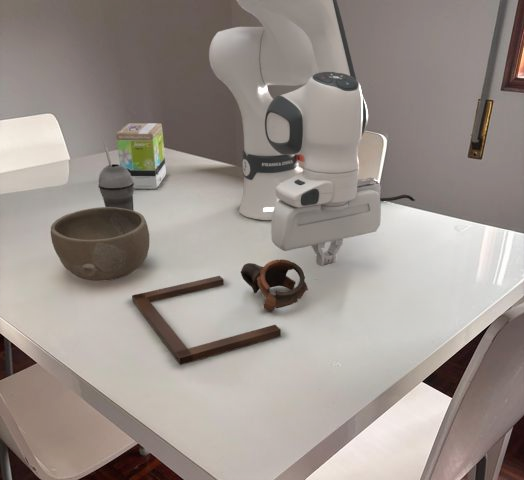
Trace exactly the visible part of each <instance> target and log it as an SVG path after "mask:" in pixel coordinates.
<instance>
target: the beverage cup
mask: <svg viewBox="0 0 524 480" xmlns="http://www.w3.org/2000/svg"><path fill="white" fill-rule="evenodd" d="M102 143H103V146H104V150H105V151H104V152H105V154H106V158H107V159H106V160H107V163H108V165H106V166H105V167H104V168H103V169H102V170H101V171H100V173H99V176H98V188H99V193H100V195H101V197H102V199H103V203H104V207H117V208H124V209H129V210H133V211H135V210H134V190H135V189H134V187H133V185H134V183H133V180H132V177H131V174H130V173H129V171H128V170H127V169H126V168H124V167H123V166H121V165H120V164H118V163H116V164H115V163H113V164H112V161H111V156H110V153H109V150H108V145H107V142H106V141H103V142H102Z"/></svg>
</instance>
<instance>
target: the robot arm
mask: <svg viewBox="0 0 524 480" xmlns="http://www.w3.org/2000/svg"><path fill="white" fill-rule="evenodd" d="M235 2H236V3H237V4H238V5H239V7H240V8H241V9H243V11H246V13H247V12H248V13H249V14H251V15H252V16H253V17H255V18H256V19H257V20H258V21H259V23H260V24H261V25H262V26H236V27H235V26H234V27H231V28H227V29H223V30H219V31H217V32H216V34H215V35H214V36H213V38H212V40H211V42H210V45H209V50H208V59H209V64H210V68H211V70H212V72H213V73H214V75H215V77H216V78H217V79H218V80H219V81H221V82H222V83H223V84H224V85H225V86H226V88H228V90H229V91H230V92H231V94H232V96H233V98H234V99H235V101H236V104H237V106H238V108H239V112H240V115H241V122H242V131H243V148H244V149H243V150H242V175H243V186H242V187H243V189H242V196H241V201H240V205H239V209H238V212H239V214H240V215H242V216H244V217H246V218H249V219H254V220H262V221H271V224H270V225H271V227H270V228H271V229H270V230H271V231H270V238H271V241H272V243H273V244H274V246H276V247H277V248H278V249H280V250H282V251H283V252H287V251H292V250H298V249H302V248H306V247H311V248H312V250H313V252H314V253H315V257H316V258H315V259H316V261H315V263H316V264H317V265H318V266H319V267H325V266H328V265H333V264H335V263H336V260H337V254H338V253H339V251H340V249H341V247H342V246H343V240H344V239H349V238H353V237H358V236H362V235H367V234H372V233H376V232H377V231H378V229H379V228H380V226H381V222H382V221H381V220H382V219H381V218H382V217H381V216H382V207H381V206H382V205H381V202H391V201H392V202H393V201H398V200H403V199H409V201H412V202H415V201H416V199H415V198H414V197H413V196H412V195H409V194H401V195H400V194H399V195H397V196H392V197H381V191H382V190H381V189H382V185H381V184H380V182H379V181H378V180H377V179H375V177H367V178H364V179H362V178H361V179H359V171H360V161H359V157H358V156H359V155H358V154H359V153H358V152H359V147H360V143H361V141H362V137H363V135H364V134H365V131H366V129H367V125H368V121H369V111H368V106H367V103H366V101H365V98H364V94H363V93H362V88H361V84H360V82H359V81H358V80H357V76H356V73H355V68H354V65H353V64H354V63H353V61H352V56H351V52H350V48H349V43H348V40H347V36H346V31H345V27H344V23H343V19H342V15H341V11H340V8H339V4H338V1H337V0H235ZM268 86H289V87H294V86H295V87H297V86H300V87H299V88H297V89H294V90H292V91H289V92H286V93H283V94H280V95H276V96H275V97H274V98H273V96H272V95H271V94H270V91H269V88H268ZM299 162H301V163H303V167H301V166H300V164H299ZM326 243H330V245H329V247H328V249H327V251H325V252H324V250H323V249H325V247H326Z"/></svg>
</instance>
